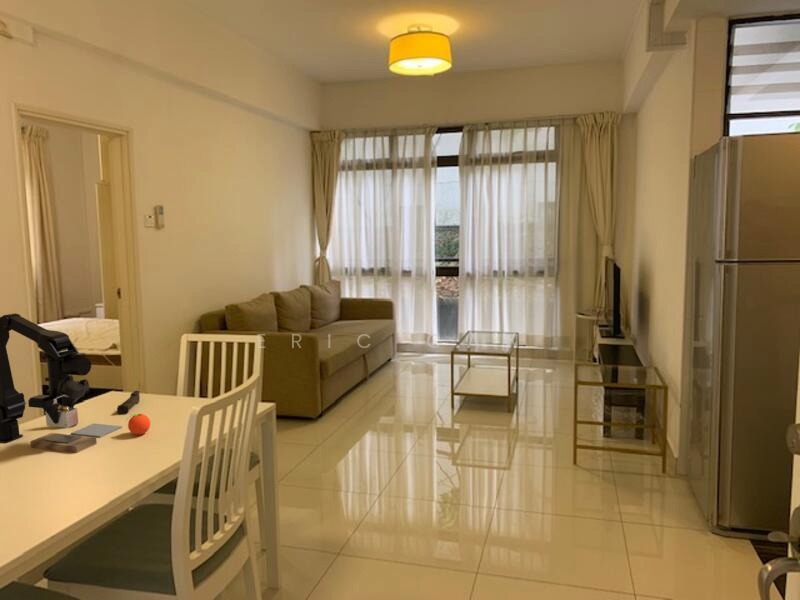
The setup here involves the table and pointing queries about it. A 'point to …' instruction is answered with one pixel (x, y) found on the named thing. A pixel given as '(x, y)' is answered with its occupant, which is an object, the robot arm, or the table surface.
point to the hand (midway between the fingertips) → (62, 421)
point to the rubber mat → (96, 430)
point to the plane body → (63, 442)
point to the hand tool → (129, 403)
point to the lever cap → (64, 417)
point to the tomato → (139, 424)
